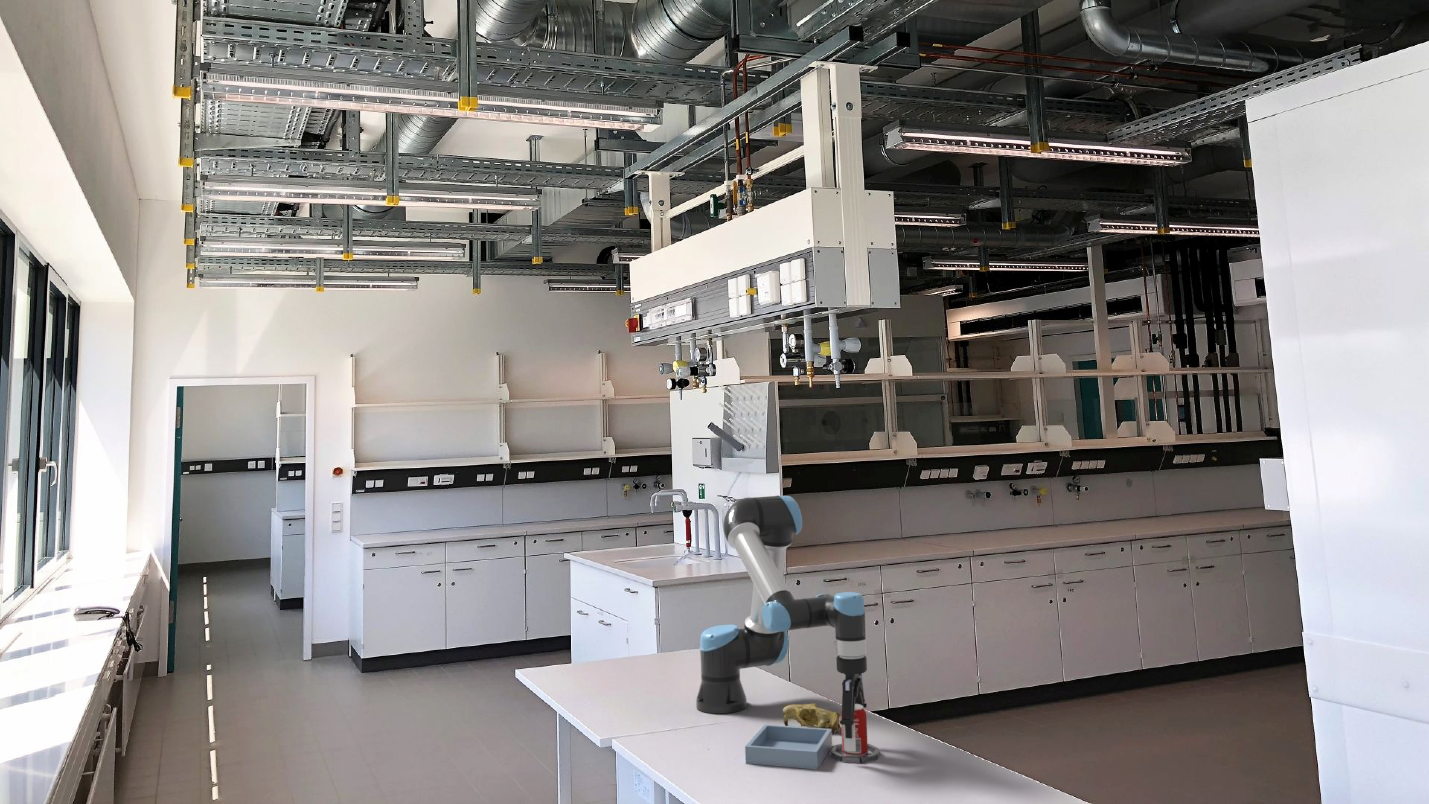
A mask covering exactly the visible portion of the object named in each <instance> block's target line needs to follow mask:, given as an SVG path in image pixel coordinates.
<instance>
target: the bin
mask: <svg viewBox="0 0 1429 804" xmlns="http://www.w3.org/2000/svg"><path fill="white" fill-rule="evenodd" d="M832 746H833V732H832V729H823V728H809V727H806V726H792V725H791V726H790V725H788V726H785V725H778V724H777V725H776V724H763V725H762V727H761V728H760V729H759V730H758V731H757V732H756V733H755V735H754V736H753V737H752V738H751V739H750V740H749V742H748V743H747V744H746V745H745V746H744V749H745V750H744V753H745V755H744V756H745V764H751V765H759V766H760V765H761V766H774V767H785V768H787V767H788V768H797V769H798V768H799V769H811V770H818V769H819V768H820V766H821V765H822V763H823V761H824V759H825V758H826V756H827V754H828V753H829V751H831V749H832Z"/></svg>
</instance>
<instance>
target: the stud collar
mask: <svg viewBox="0 0 1429 804" xmlns="http://www.w3.org/2000/svg"><path fill="white" fill-rule="evenodd" d="M832 746H833V747H831V749H830V757H831V758H834V759H835V760H836V761H839V762H842V763H851V764H865V763H868V762H870V763H871V762H874V761H877V760H878V759H879V756H880V748H879V747H878V746H875V745H872V744H871V743H868V752H871V753H872V754H867V755H866V754H865V756H862V757H854V756H846V755H843V754H842V753H839V752H838V751H842V743H839V744H838V743H837V744H834V745H832Z"/></svg>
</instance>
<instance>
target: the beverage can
mask: <svg viewBox="0 0 1429 804" xmlns="http://www.w3.org/2000/svg"><path fill="white" fill-rule="evenodd" d="M841 719H842V710H841V711H840V720H841ZM846 719H849V718H846ZM867 721H868V720H867V711H866V710H865V708H863V706H862V705H860V704H855V711H854V724H855V741H856V751H855V752H854V751H844V730H843V724H840V727H841V728H840V729H841V744H842V750H841V751H842V753H843V754H844V756H854V757H862V756H866V754H867V753H868V752H869V750H868V744H869V743H868V726H867V725H868V722H867Z"/></svg>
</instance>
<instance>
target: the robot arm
mask: <svg viewBox="0 0 1429 804" xmlns="http://www.w3.org/2000/svg"><path fill="white" fill-rule="evenodd" d="M725 513H726V514H725V516H724V519H723V526H722V527H723V533H724V534H723V535H724V537H725V539H726V541H727V544H728V545H729V546H730V547H731V549H735V551H736V552H737V554H738V556H739V558H740V560H741V562H742V564H743V567H745V570H746V571H747V573H748V575H749V577H750V579H751V581H752V583H753V588H752V597H751V608H750V615H749V616H747V617H746V618H745V620H744V625H743V628H739V627H738V625H737V624H730V623H729V624H721V625H720V624H719V625H715V626H714V625H713V626H712V627H709V628H706V629H705V630H703V632H702V633H701V634H700V639H699V640H700V641H699V642H700V643H699V651H700V673H701V674H700V675H701V679H700V680H701V682H700V685H699V687H698V688H699V689H698V692H697V696H696V700H695V701H696V702H695V703H696V704H695V705H696V707H695V708H696V709H697V710H699V711H700V712H704V713H707V714H708V713H709V714H729V713H730V714H732V713H736V712H741V711H743V710H744V709H746V708H747V707H748V705H747V704H748V703H747V701H748V700H747V696H746V692H745V690H744V687H743V684H742V681H741V673H740V672H741V670H742V669H749V668H756V667H763V666H766V667H767V666H769V667H770V666H773V665H777V664H779V663H781V662H783V660H785V658H786V656H787V653H788V651H789V646H790V644H789V641H790V640H789V639H788V637H789V634H788V631H795V630H802V629H811V628H820V627H827V626H828V627H832V628H834V629H835V630H834V631H835V634H834V635H835V641H833V645H834V646H836V647H835V649H836V651H835V654H836V655H837V656H836V658H835V659H836V661H835V662H836V671H837V672H838V673H840V674H844V679H843V681H842V683H841V685H842V693H841V694H842V697H841V698H842V699H841V711H842V719H841V718H840V720H839V724H840V725H841V724H843V730H844V751H854V752H855V751H856V741H855V724H854V711H855V704H860V705H862V706H863V708H864V709H865V708H867V705H868V704H867V703H866V699H865V691H864V685H863V684H864V683H863V677H862V676H863V675H862V674H864V673H866V672H867V670H868V664H867V663H868V661H867V656H865V655H867V638H866V607H865V599H864V596H863V594H862V593H859V592H853V591H843V592H838V593H835V595H834V596H833V595H831V594H829V593H828V594H827V593H819V594H816V595H814V596H812V597H808V598H807V597H806V598H796V599H795V597H794V595H793V594H792V593H791V591H790V589H789V587H788V586H787V583H786V581H785V580H784V571H785V564H786V555H787V548H788V547H789V546H792V544H793V539H794V537H793V536H796V535H798V534H800V533H801V531H802V530H803V529H802V528H803V516H802V512H801V508H800V506H799V504H798V502H797V501H796V500H795V498H794V497H792V496H790V495H779V494H777V495H774V496H772V495H771V496H758V497H757V496H755V497H751V496H750V497H749V496H748V497H744V498H741V499H738V500H736V501H735V502H733V503H732V504H731V505H730V507H729V508H728V509H727V512H725ZM846 718H849V719H846Z"/></svg>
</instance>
